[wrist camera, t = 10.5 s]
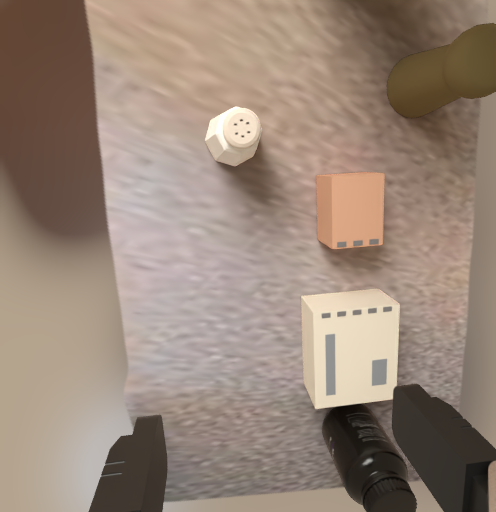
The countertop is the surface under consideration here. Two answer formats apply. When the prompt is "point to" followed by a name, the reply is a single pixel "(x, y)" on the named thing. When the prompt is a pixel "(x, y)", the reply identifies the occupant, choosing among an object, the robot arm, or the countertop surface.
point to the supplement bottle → (367, 460)
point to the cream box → (350, 347)
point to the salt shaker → (234, 136)
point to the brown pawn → (445, 73)
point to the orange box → (350, 209)
